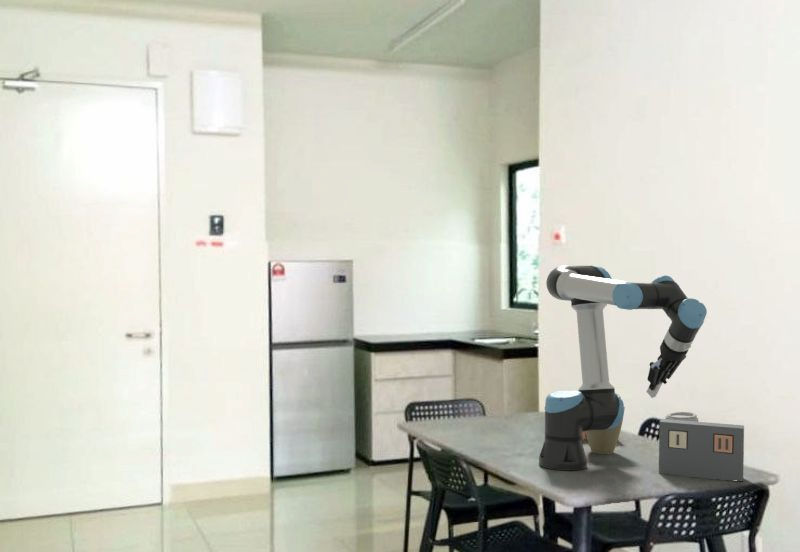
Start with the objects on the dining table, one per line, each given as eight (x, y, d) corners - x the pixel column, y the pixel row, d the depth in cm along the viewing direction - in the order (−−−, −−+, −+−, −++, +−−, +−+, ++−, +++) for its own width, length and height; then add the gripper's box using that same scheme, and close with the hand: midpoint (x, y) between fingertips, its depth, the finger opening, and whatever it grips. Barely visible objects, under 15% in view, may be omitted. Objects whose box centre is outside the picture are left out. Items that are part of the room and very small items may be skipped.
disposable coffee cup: (685, 462, 271) (686, 417, 271) (657, 456, 280) (658, 412, 280) (704, 459, 277) (705, 414, 277) (676, 453, 286) (677, 409, 286)
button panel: (742, 482, 246) (743, 428, 246) (658, 473, 256) (659, 421, 256) (743, 478, 251) (744, 425, 251) (661, 469, 261) (661, 418, 261)
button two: (732, 453, 246) (732, 436, 246) (714, 451, 248) (714, 434, 248) (732, 451, 249) (732, 434, 249) (714, 449, 251) (715, 433, 251)
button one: (686, 448, 252) (686, 432, 252) (669, 447, 254) (669, 430, 254) (687, 446, 255) (687, 430, 255) (670, 445, 257) (670, 429, 257)
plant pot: (587, 445, 296) (588, 401, 296) (628, 450, 289) (629, 405, 289) (574, 453, 283) (574, 406, 283) (617, 458, 276) (618, 410, 276)
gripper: (668, 359, 236) (643, 409, 252) (701, 345, 241) (674, 396, 257) (651, 341, 240) (627, 391, 256) (684, 328, 246) (658, 379, 262)
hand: (651, 394), depth 257 cm, fingers closed
